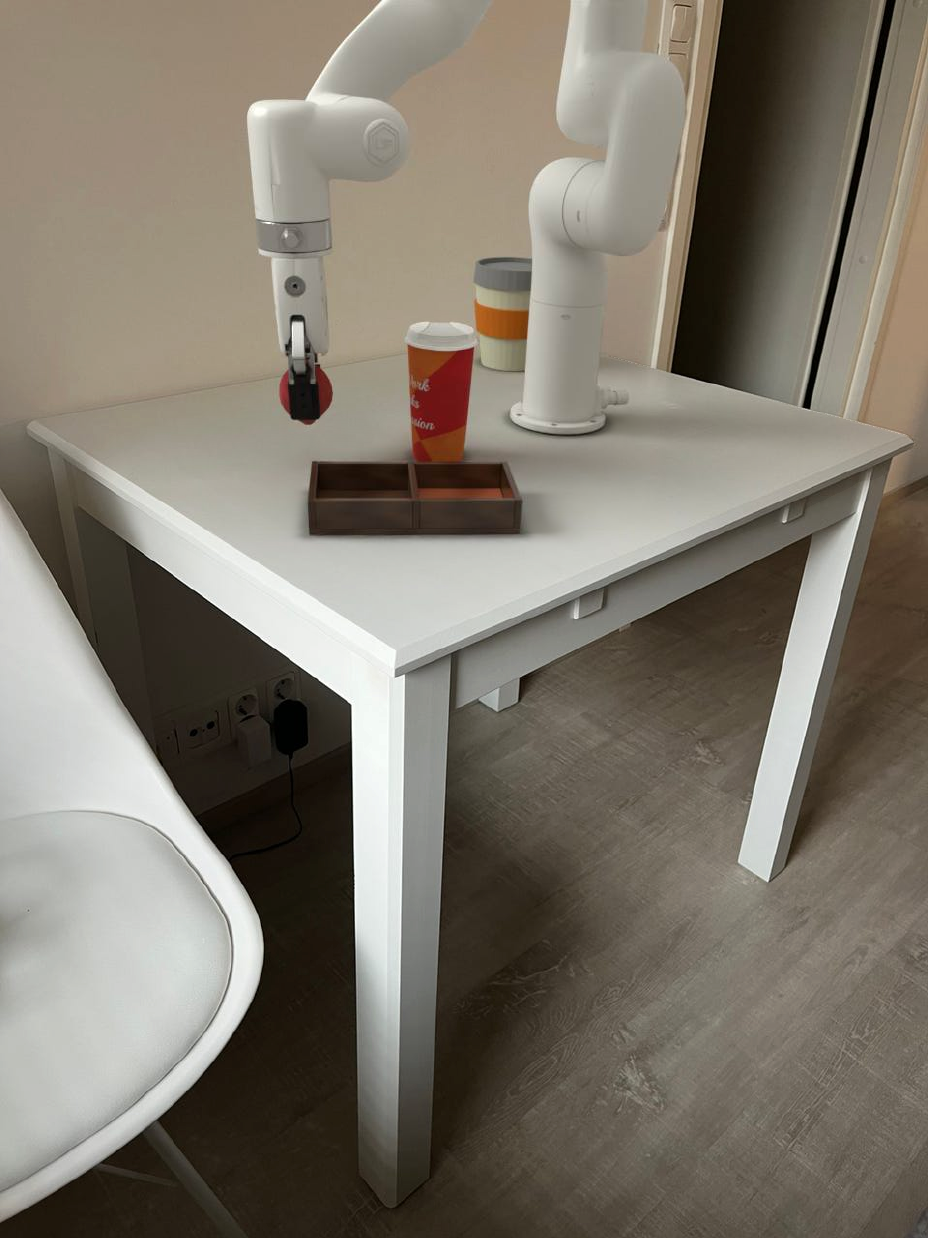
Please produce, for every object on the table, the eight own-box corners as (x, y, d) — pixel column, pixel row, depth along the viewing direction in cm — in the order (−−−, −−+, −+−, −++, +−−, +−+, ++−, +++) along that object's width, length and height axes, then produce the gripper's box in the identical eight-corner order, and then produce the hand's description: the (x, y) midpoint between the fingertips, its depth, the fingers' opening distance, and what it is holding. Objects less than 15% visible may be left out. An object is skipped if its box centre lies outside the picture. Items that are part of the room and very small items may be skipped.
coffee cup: (402, 444, 118) (403, 318, 111) (469, 444, 119) (474, 320, 112) (404, 469, 111) (405, 336, 103) (475, 469, 112) (482, 338, 104)
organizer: (505, 492, 106) (507, 461, 104) (520, 533, 97) (522, 500, 95) (313, 492, 104) (311, 460, 102) (309, 535, 94) (307, 500, 93)
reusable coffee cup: (487, 349, 160) (492, 253, 153) (559, 359, 156) (568, 262, 148) (457, 366, 150) (460, 265, 142) (533, 378, 146) (541, 274, 138)
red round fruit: (311, 437, 105) (306, 364, 101) (271, 427, 108) (264, 355, 104) (344, 422, 109) (340, 351, 105) (305, 413, 112) (300, 343, 108)
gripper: (330, 252, 91) (339, 434, 101) (333, 223, 106) (341, 385, 115) (249, 252, 91) (266, 436, 100) (264, 223, 106) (277, 386, 115)
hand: (306, 407), depth 108 cm, fingers closed on red round fruit, 5 cm apart
